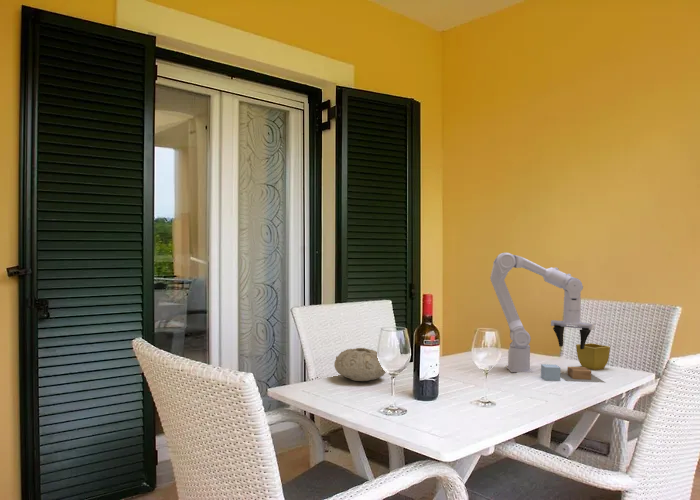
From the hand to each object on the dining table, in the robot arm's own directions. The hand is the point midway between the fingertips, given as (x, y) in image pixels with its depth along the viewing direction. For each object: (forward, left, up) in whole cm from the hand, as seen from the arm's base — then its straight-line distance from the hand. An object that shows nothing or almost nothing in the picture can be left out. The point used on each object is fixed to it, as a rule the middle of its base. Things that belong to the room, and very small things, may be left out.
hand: (571, 347), depth 194 cm
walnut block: (+8, 0, -9) cm, 12 cm away
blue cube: (+12, -11, -10) cm, 19 cm away
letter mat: (+8, 0, -9) cm, 12 cm away
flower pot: (-9, +11, -10) cm, 17 cm away
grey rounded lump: (+20, -76, -10) cm, 79 cm away
